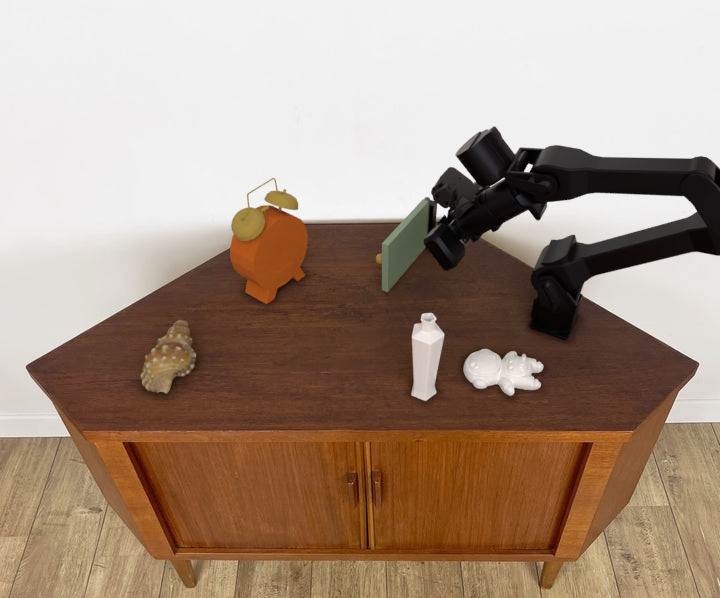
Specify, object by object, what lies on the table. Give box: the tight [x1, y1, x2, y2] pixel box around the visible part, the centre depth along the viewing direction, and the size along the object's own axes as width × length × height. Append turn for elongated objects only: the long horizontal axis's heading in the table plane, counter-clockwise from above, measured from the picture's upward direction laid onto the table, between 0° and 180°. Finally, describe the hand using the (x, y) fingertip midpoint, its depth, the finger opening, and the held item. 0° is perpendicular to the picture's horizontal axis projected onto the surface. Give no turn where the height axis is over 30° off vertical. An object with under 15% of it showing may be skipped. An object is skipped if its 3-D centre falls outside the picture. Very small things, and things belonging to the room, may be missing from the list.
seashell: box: [140, 319, 197, 395], centre depth 104 cm, size 9×8×10 cm
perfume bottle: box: [410, 312, 445, 402], centre depth 96 cm, size 5×4×15 cm
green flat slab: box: [375, 196, 431, 293], centre depth 118 cm, size 16×3×10 cm, turn 150°
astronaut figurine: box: [462, 348, 544, 397], centre depth 102 cm, size 9×12×3 cm
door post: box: [428, 199, 438, 234], centre depth 124 cm, size 3×3×9 cm
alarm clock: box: [229, 177, 309, 305], centre depth 113 cm, size 13×6×20 cm, turn 141°
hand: (428, 243), depth 113 cm, fingers closed
